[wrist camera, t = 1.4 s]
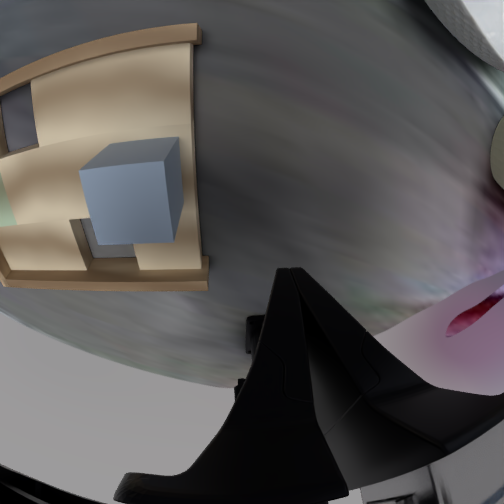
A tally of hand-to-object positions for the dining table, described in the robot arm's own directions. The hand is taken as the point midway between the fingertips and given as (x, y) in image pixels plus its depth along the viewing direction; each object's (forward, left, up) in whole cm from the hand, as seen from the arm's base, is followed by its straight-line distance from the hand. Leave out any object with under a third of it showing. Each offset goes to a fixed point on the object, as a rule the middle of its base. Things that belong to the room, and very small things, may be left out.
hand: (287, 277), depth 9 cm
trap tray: (0, +14, -11) cm, 18 cm away
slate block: (0, +7, -10) cm, 12 cm away
